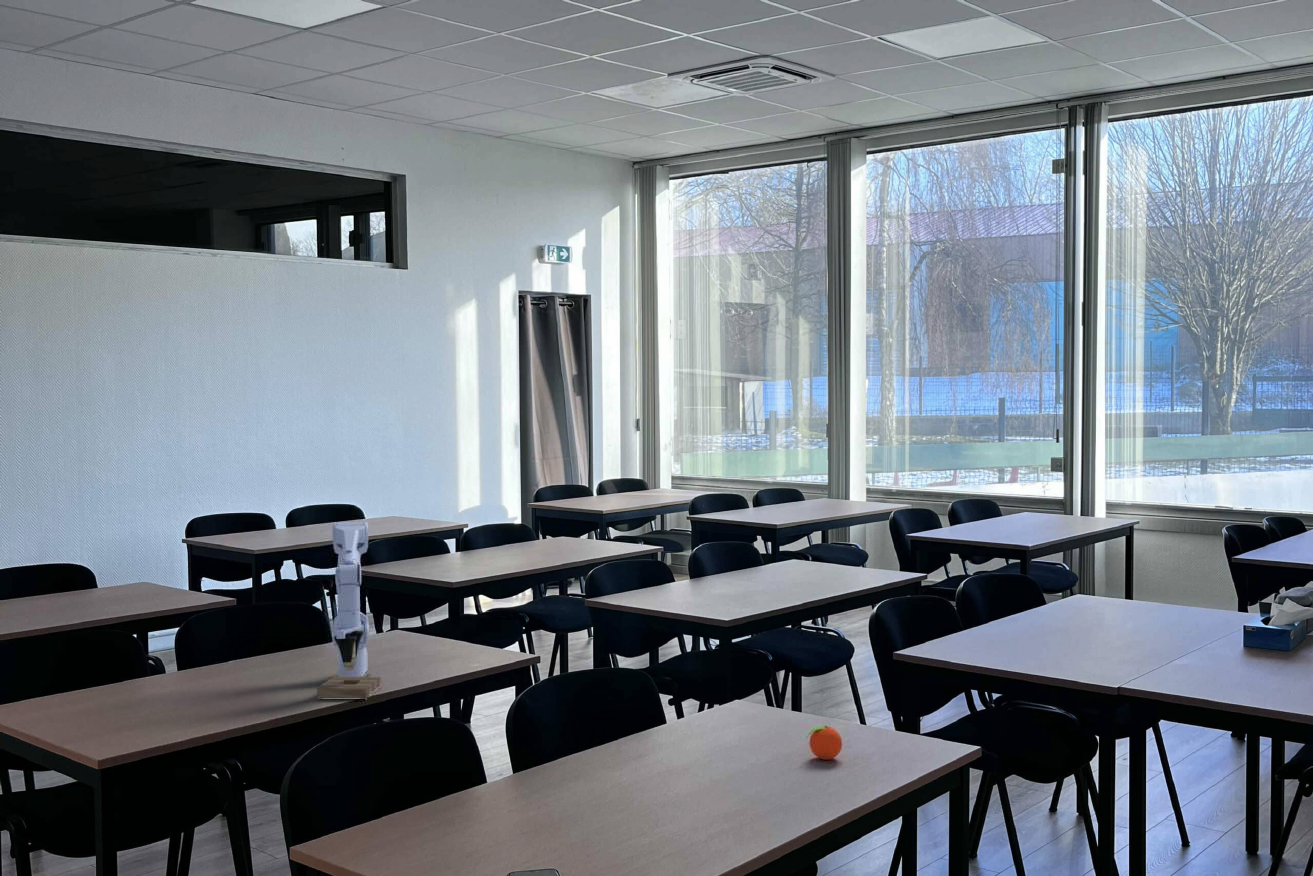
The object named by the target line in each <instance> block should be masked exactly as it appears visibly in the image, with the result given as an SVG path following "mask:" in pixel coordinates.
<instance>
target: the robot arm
mask: <svg viewBox="0 0 1313 876" xmlns="http://www.w3.org/2000/svg"><path fill="white" fill-rule="evenodd" d="M331 532H332V543H333V546H332V547H333V550H334V553H335V554H338V556H337V558H338V559H337V567H335V576H334V577H335V586H336V594H337V616H335V617H334V619H333V625H332V644H333V646H334V647H337V673H338V675H337V676H339V677H359V676H363V675H364V674H365V672H366V671H367V670H368V671H369V668H368V663H369V662H368V660H369V659H368V649H367V647H366V646H367V645H368V644H369V643H370V625H369V624H370V623H369V618H368V616H367V615H366V614H364V613H363V612H361V599H360V598H361V597H360V596H361V595H360V594H361V593H360V590H361V589H360V588H361V587H360V586H361V584H362V567H361V566H362V565H361V557H362V556H361V555H362V554H365V553H367V552H368V548H369V544H368V543H369V523H368V522H367V520H366V521H365V520H364V521H355V522H354V521H353V522H352V521H350V522H348V521H347V522H345V521H343V522H336V521H335V522H333V524H332V531H331ZM354 644H355V663H356V664H355V665H354V669H353V670H345V666H344V665H343V662H345V663H350V662H351V661H352V656H353V648H354Z"/></svg>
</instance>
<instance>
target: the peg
mask: <svg viewBox="0 0 1313 876" xmlns="http://www.w3.org/2000/svg"><path fill="white" fill-rule="evenodd" d="M355 664H356V663H355V644H354V648H353V656H352V661H351V662H350V663H345V662H343V665H344V666H345V670H353V669H354V665H355Z"/></svg>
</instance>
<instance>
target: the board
mask: <svg viewBox="0 0 1313 876" xmlns="http://www.w3.org/2000/svg"><path fill="white" fill-rule="evenodd" d="M381 678H382V677H381V676H367V677H337V676H332V677H331V678H330V679H329V678H328V680H326V681H325V682H324V683H322V684H321V685H320V686H318V687H317V688H316V699H317V698H361V699H365V700H364V701H367V700H368V699H367V697H368V696H369V694H371V693H372V692H373V691H374V690H375V689H376V688H377V687H379V686H380V684H381V685H382V679H381Z"/></svg>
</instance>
